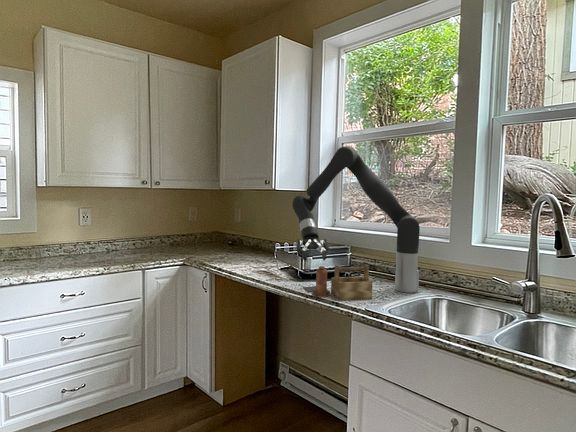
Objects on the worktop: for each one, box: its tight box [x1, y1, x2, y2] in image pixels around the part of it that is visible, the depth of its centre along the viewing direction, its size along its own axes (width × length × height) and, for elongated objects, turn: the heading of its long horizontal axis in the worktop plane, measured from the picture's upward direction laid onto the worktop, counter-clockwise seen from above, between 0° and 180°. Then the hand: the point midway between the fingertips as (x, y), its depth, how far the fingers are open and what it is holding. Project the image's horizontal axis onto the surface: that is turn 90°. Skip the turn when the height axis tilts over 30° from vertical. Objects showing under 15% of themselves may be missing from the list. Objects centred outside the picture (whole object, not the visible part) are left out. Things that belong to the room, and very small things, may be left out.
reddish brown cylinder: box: [315, 265, 328, 298], centre depth 165 cm, size 4×4×12 cm
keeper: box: [311, 288, 331, 298], centre depth 165 cm, size 7×4×2 cm, turn 103°
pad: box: [302, 285, 316, 293], centre depth 175 cm, size 8×8×1 cm
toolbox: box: [330, 264, 373, 301], centre depth 164 cm, size 14×10×13 cm
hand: (315, 259), depth 173 cm, fingers open, 8 cm apart
